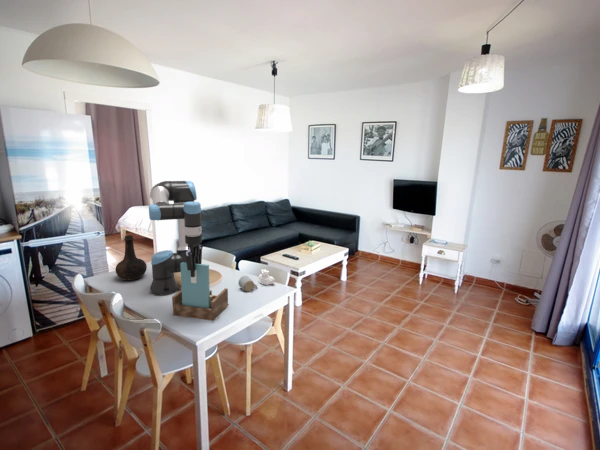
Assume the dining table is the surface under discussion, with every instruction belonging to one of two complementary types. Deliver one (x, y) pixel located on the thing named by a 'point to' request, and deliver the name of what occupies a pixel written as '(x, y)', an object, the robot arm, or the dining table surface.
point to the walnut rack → (197, 312)
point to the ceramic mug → (246, 283)
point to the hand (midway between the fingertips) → (195, 281)
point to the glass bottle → (130, 263)
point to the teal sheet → (195, 286)
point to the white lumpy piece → (266, 277)
